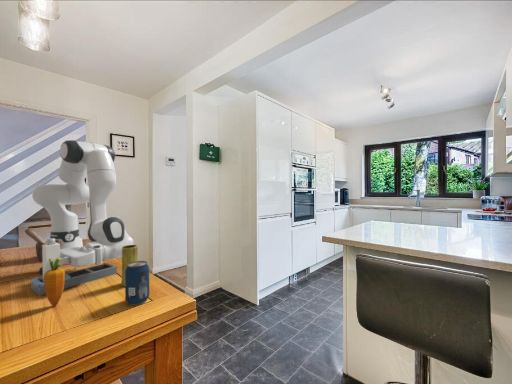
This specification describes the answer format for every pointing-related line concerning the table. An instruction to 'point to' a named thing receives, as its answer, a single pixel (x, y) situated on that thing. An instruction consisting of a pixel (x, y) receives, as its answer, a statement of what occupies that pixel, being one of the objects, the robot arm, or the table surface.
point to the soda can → (137, 282)
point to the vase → (128, 258)
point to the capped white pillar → (49, 254)
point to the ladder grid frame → (77, 277)
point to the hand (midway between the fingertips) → (48, 261)
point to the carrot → (54, 282)
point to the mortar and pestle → (39, 244)
